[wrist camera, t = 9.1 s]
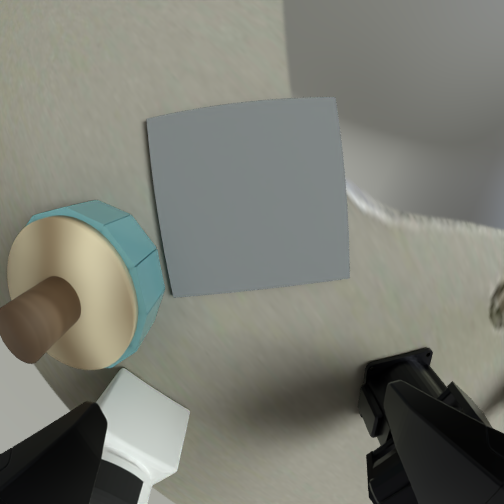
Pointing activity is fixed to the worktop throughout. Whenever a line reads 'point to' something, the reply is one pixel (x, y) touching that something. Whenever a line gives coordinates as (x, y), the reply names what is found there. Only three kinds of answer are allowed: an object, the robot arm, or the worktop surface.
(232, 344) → the worktop surface
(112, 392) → the medicine bottle
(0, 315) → the lid
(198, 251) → the mat
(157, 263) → the bowl
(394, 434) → the robot arm
